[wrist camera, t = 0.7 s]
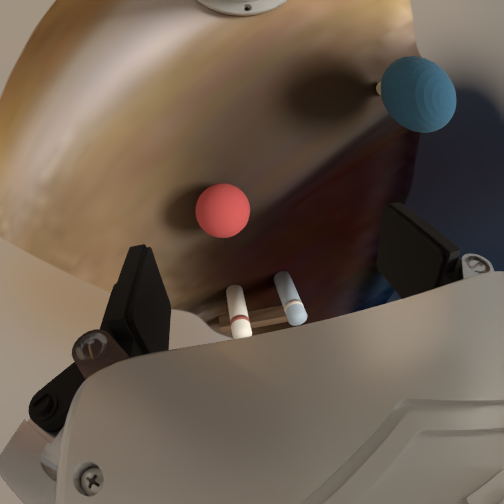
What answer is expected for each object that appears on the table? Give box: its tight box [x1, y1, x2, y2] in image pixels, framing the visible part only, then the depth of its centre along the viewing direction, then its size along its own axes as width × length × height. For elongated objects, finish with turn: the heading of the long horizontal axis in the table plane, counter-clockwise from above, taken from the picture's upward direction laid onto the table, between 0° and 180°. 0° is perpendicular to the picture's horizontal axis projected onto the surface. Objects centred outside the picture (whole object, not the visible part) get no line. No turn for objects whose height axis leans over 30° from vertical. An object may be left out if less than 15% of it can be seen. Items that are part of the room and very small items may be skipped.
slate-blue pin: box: [274, 271, 307, 326], centre depth 39 cm, size 2×2×8 cm
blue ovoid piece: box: [376, 56, 456, 132], centre depth 25 cm, size 8×8×12 cm
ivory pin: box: [226, 285, 252, 339], centre depth 39 cm, size 2×2×8 cm
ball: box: [195, 184, 250, 238], centre depth 32 cm, size 6×6×6 cm
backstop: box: [219, 305, 288, 333], centre depth 44 cm, size 1×11×2 cm, turn 95°
